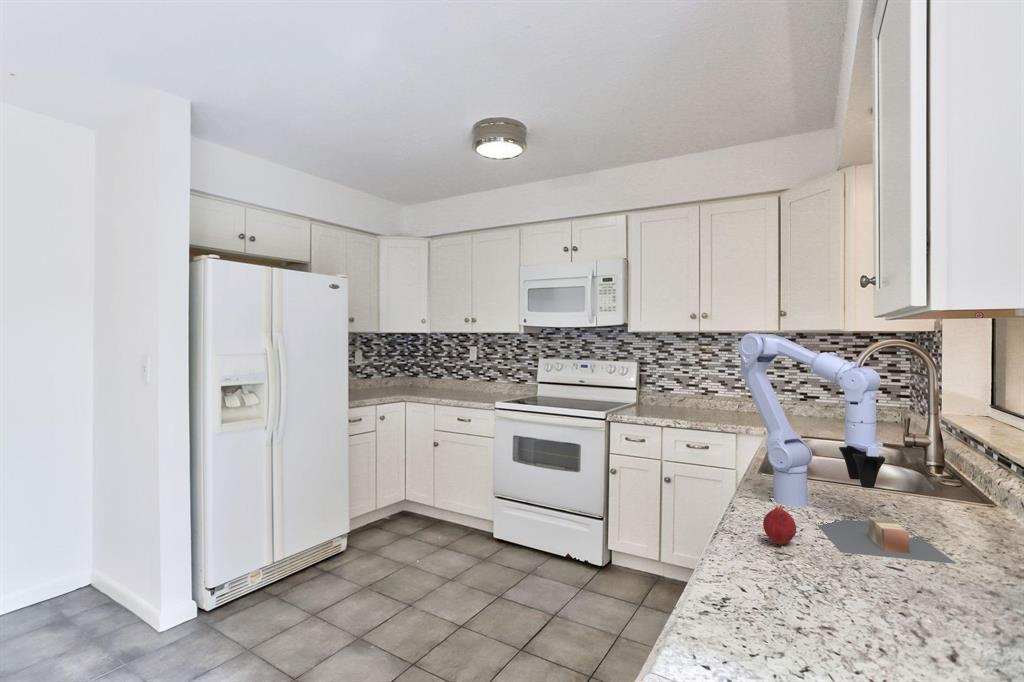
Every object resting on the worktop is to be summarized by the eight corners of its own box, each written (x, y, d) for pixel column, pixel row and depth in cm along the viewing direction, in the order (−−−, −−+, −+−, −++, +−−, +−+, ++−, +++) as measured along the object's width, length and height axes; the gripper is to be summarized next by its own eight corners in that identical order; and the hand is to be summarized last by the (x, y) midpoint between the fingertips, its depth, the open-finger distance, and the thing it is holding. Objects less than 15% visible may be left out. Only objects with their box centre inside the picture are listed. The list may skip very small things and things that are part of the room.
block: (868, 517, 105) (883, 529, 97) (891, 518, 104) (909, 531, 96) (868, 536, 105) (884, 551, 97) (891, 538, 104) (909, 553, 96)
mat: (810, 519, 118) (810, 517, 118) (903, 526, 112) (903, 524, 112) (841, 554, 97) (841, 552, 97) (957, 566, 91) (957, 563, 91)
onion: (799, 552, 98) (798, 510, 98) (765, 549, 100) (765, 507, 100) (793, 542, 103) (792, 501, 103) (761, 538, 105) (761, 499, 105)
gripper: (895, 427, 106) (896, 493, 106) (869, 418, 120) (870, 477, 120) (856, 425, 108) (856, 490, 108) (834, 417, 122) (835, 474, 122)
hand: (861, 483), depth 114 cm, fingers open, 7 cm apart
